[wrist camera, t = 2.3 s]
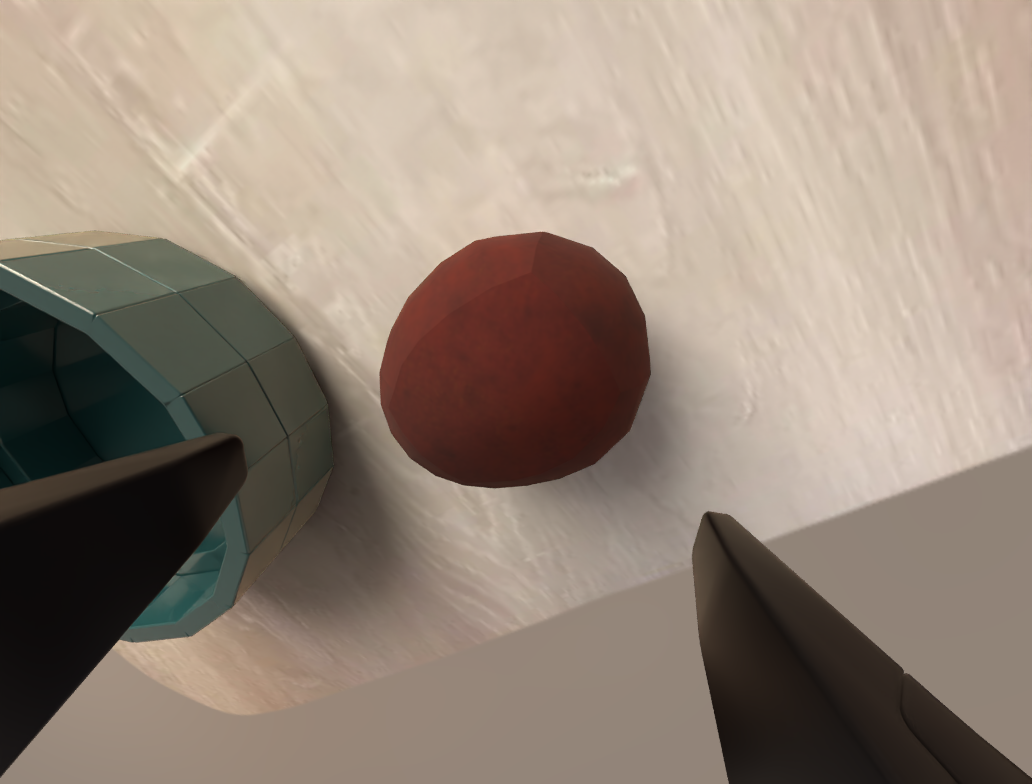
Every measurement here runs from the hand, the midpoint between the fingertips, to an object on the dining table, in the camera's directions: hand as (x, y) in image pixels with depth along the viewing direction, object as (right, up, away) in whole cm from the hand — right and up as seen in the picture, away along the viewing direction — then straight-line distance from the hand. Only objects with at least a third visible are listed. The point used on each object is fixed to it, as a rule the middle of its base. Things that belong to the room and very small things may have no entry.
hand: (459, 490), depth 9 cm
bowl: (-14, +1, +12) cm, 18 cm away
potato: (+1, +4, +8) cm, 9 cm away
